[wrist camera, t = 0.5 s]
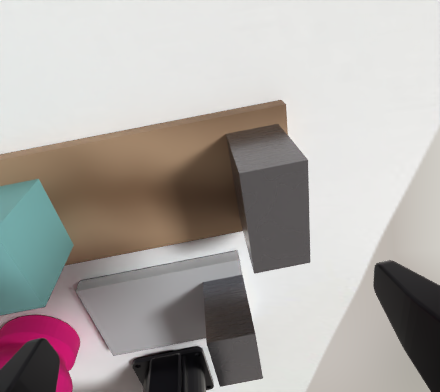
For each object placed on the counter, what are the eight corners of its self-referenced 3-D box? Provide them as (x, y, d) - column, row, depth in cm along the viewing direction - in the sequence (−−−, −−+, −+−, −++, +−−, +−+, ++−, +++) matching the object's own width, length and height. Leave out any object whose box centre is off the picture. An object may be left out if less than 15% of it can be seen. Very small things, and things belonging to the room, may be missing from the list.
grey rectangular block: (249, 319, 28) (264, 389, 23) (115, 345, 28) (99, 421, 23) (237, 250, 24) (252, 317, 18) (79, 281, 24) (50, 356, 19)
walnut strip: (288, 213, 22) (319, 274, 17) (-4, 269, 22) (-60, 347, 17) (281, 99, 18) (319, 135, 13) (-77, 169, 18) (-181, 233, 13)
